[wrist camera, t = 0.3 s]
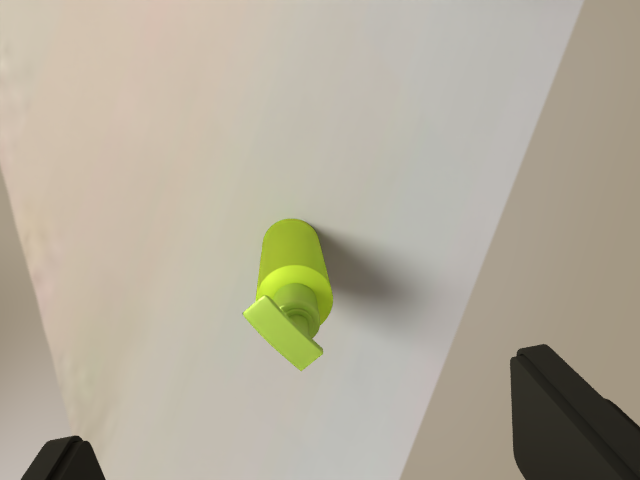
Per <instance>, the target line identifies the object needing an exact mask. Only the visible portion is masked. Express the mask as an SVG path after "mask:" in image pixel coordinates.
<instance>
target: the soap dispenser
mask: <svg viewBox="0 0 640 480" xmlns="http://www.w3.org/2000/svg"><path fill="white" fill-rule="evenodd" d="M332 304H333V294H332V290H331V286H330V282H329V278H328V274H327V270H326V266H325V262H324V258H323V254H322V250H321V246H320V242H319V239H318V236H317V234H316V232H315V230H314V229H313V228H312V227H311V226H310V225H309V224H307V223H306V222H304V221H301V220H298V219H285V220H281V221H279V222H277V223H275V224H274V225H272V226H271V227H270V228H269V229H268V231H267V232H266V234H265V236H264V239H263V245H262V253H261V261H260V269H259V277H258V285H257V293H256V302H255V303H254V304H253V305H251V306H250V307H249V308H248V309H247V310H246V311H245V312H243V315H244V317H245V318H246V319H247V320H248V321H249V323H250V324H251V325H252V326H253V327H254V328H255V329H256V330H257V331H258V333H259V334H260V335H261V336H262V337H263V338H264V339H265V340H266V341H267V342H268V343H269V344H270V345H271V346H272V347H274V348H275V349H276V350H277V351H278V352H279V353H280V354H281V355H282V356H284V357H285V358H286V359H287V360H288V361H289V362H291V363H292V364H293V365H294V366H295V367H297V368H298V369H299V370H300V371H302V370H303V369H305V368H306V367H307V366H308V365H310V364H311V363H312V362H313V361H315V360H316V359H317V358H318V357H320V356H321V355H322V354H323V349H322V348H321V347H320V346H319V345H318V344H317V343H316V342H315V341H314V340H313V339H312V338H313V337H314V336H315V335H316V334H317V332H318V330H319V327H320V325H321V324H322V323H323V322H324V321H325V320H326V319H327V317H328V315H329V314H330V311H331V308H332Z"/></svg>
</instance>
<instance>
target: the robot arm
mask: <svg viewBox="0 0 640 480" xmlns="http://www.w3.org/2000/svg"><path fill="white" fill-rule="evenodd" d="M510 370H511V398H512V426H513V451H514V457H515V460H516V463H517V466H518V468H519V469H520V471H521V473H522V474H523V476H524V478H525V479H526V480H640V427H639V426H638V425H637V424H636V423H635V422H634V421H633V420H632V419H630V418H629V417H628V416H627V415H626V414H625V413H624V412H623V411H622V410H621V409H620V408H619V407H618V406H617V405H615V404H614V403H613V402H611V401H610V400H608V399H605V398H603V397H602V396H601V395H600V394H598V392H596V391H595V390H594V389H593V388H592V387H591V386H590V385H589V384H588V383H587V382H586V381H585V380H584V379H583V378H582V377H581V376H579V374H578V373H576V372H575V371H574V370H573V369H572V368H571V367H570V366H569V365H568V364H567V363H566V362H565V361H564V360H563V359H562V358H561V357H559V356H558V355H557V354H556V353H555V352H554V351H553V350H552V349H551V348H550V347H549V346H547V345H545V344H542V345H537V346H532V347H526V348H522V349H519V350H518V351H517V356H516V357H512V358H511V360H510ZM21 480H105V477H104V475H103V472H102V470H101V468H100V465H99V463H98V461H97V458H96V456H95V453H94V451H93V449H92V446H91V444H90V443H89V442H88V441H83V440H82V438H80V437H79V436H71V437H65V438H60V439H55V440H50V441H48V442H47V443H46V444H45V445H44V446H43V447H42V449H41V450H40V452H39V453H38V455H37V456H36V458H35V459H34V461H33V462H32V464H31V465H30V467H29V468H28V470H27V471H26V472H25V474H24V475H23V477H22V479H21Z"/></svg>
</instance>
